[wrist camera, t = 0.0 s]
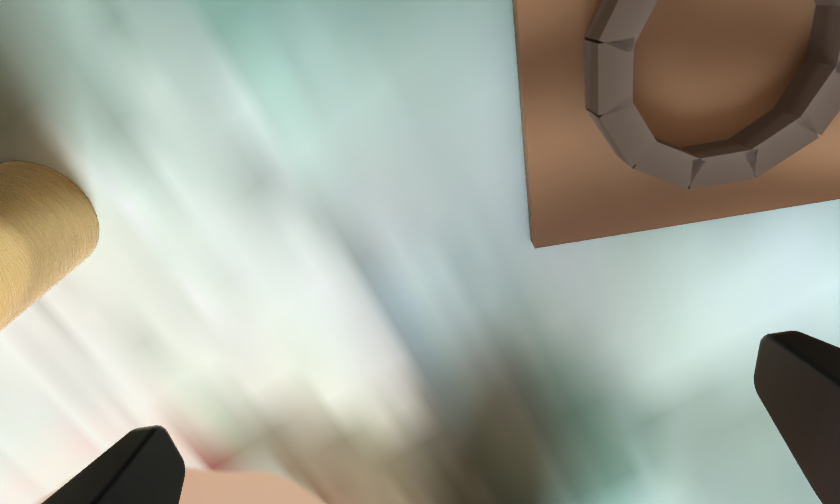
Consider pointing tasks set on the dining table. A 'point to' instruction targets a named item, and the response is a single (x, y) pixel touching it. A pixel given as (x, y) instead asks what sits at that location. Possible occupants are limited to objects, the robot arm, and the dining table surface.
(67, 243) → the brass roller
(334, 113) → the dining table surface
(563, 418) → the dining table surface
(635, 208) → the collar plate
